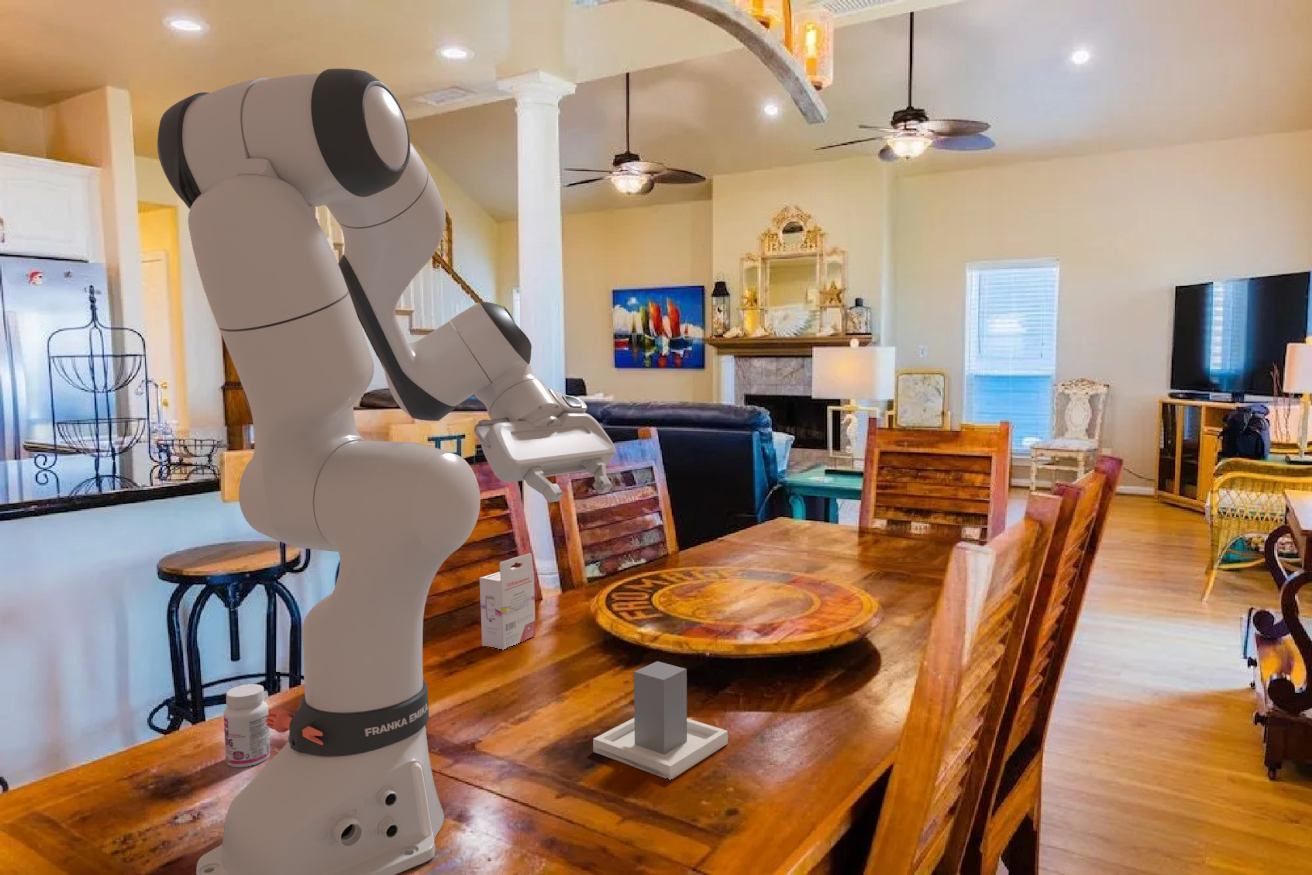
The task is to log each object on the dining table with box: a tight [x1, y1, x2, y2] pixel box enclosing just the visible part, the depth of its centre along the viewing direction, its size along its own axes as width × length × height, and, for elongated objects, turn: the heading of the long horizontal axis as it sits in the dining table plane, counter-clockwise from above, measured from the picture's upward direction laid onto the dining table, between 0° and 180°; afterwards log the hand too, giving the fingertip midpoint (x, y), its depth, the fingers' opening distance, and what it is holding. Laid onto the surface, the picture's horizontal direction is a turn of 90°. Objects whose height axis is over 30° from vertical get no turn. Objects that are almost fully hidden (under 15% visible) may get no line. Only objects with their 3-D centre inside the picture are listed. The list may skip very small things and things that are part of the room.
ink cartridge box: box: [479, 552, 536, 651], centre depth 142 cm, size 9×5×15 cm, turn 149°
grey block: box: [633, 661, 688, 755], centre depth 102 cm, size 4×4×9 cm
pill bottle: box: [223, 683, 271, 768], centre depth 100 cm, size 5×5×8 cm
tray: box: [592, 717, 729, 781], centre depth 102 cm, size 12×12×2 cm
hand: (582, 494), depth 110 cm, fingers open, 8 cm apart
